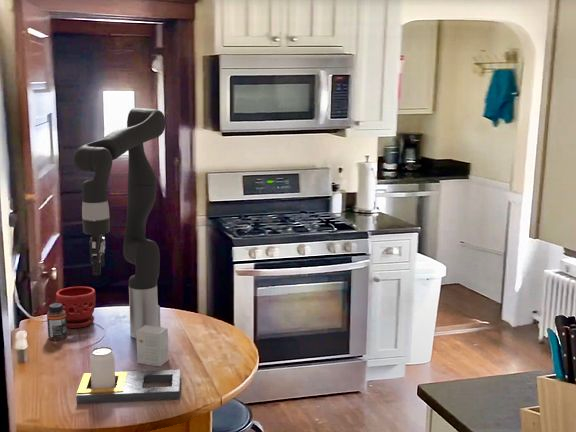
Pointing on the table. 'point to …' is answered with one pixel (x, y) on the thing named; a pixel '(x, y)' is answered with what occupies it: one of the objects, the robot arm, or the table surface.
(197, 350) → the table surface
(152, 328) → the small box
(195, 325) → the table surface
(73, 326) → the plant pot
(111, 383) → the can
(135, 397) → the grey slotted tray
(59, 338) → the supplement bottle
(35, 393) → the table surface
